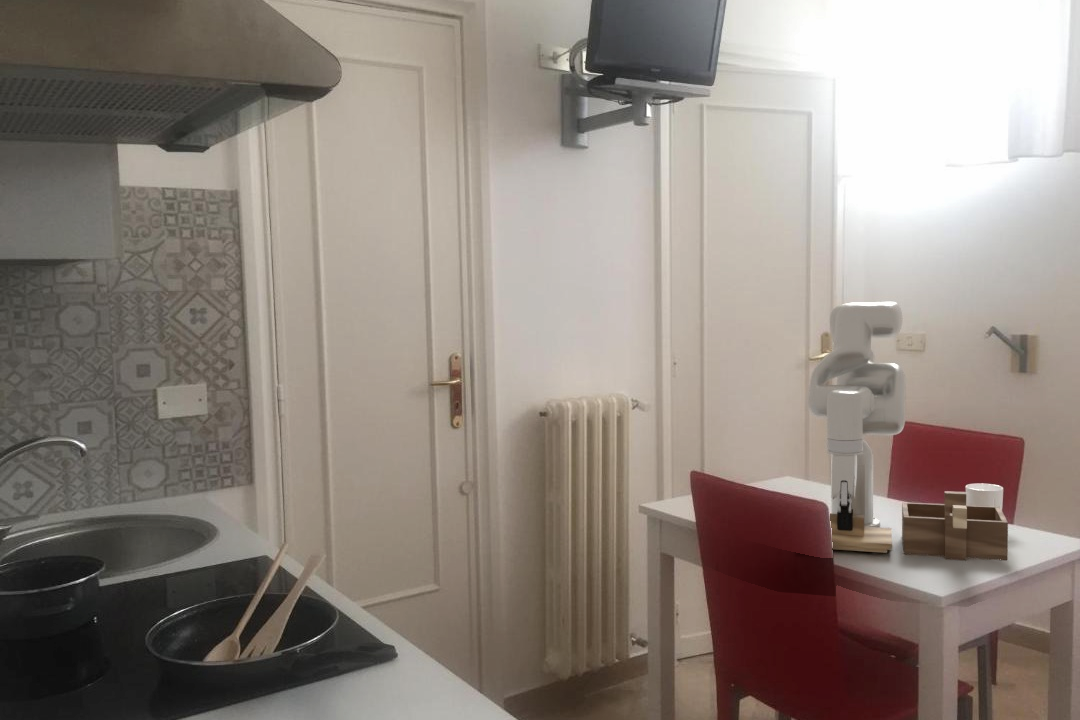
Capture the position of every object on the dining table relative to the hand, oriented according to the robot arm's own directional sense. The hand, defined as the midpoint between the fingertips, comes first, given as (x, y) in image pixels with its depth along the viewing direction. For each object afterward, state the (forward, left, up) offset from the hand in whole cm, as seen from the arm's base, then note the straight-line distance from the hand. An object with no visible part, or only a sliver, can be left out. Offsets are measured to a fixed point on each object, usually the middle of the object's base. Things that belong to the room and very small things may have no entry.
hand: (845, 527), depth 206 cm
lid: (0, 0, -3) cm, 3 cm away
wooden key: (+12, +22, +5) cm, 26 cm away
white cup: (-22, +30, -4) cm, 37 cm away
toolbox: (-4, +22, -4) cm, 23 cm away
